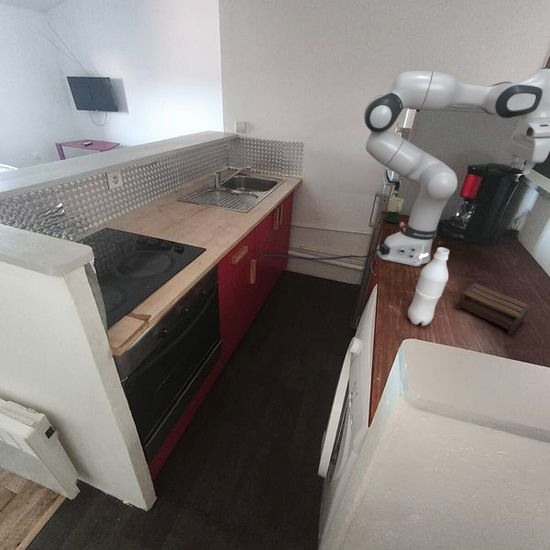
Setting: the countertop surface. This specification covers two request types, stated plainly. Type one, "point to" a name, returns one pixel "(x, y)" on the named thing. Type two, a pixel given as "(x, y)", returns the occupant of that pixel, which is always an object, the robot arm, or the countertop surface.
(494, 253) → the countertop surface
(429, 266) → the water bottle
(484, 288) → the rack
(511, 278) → the countertop surface
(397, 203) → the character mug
